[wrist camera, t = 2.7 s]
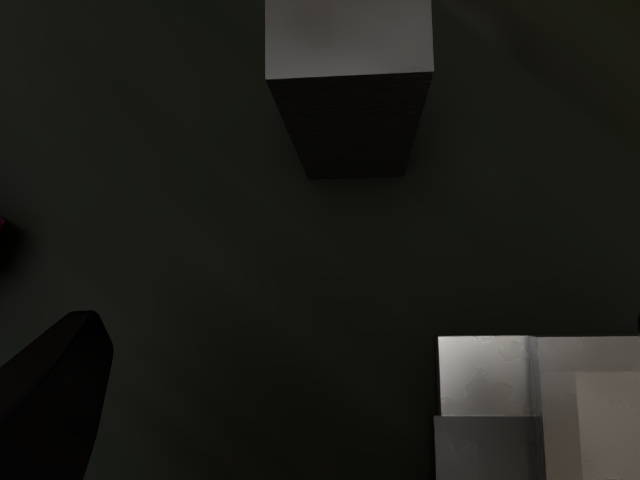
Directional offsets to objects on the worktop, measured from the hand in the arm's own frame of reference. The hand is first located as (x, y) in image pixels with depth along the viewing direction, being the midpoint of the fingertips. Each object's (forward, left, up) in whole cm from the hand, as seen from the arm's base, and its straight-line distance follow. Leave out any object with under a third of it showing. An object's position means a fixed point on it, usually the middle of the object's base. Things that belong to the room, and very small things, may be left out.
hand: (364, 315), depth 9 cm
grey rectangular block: (+7, 0, -13) cm, 15 cm away
